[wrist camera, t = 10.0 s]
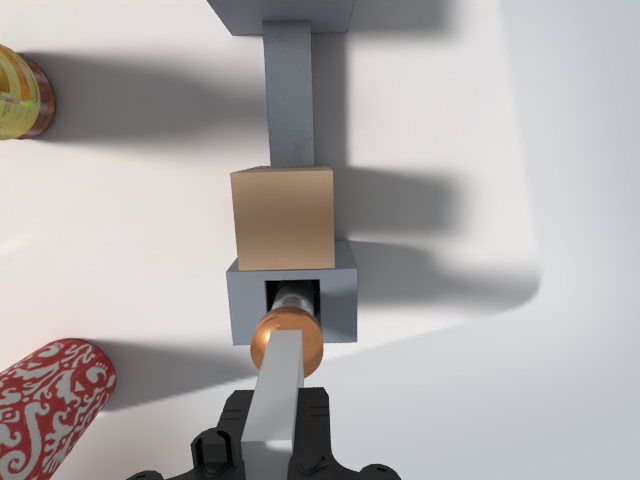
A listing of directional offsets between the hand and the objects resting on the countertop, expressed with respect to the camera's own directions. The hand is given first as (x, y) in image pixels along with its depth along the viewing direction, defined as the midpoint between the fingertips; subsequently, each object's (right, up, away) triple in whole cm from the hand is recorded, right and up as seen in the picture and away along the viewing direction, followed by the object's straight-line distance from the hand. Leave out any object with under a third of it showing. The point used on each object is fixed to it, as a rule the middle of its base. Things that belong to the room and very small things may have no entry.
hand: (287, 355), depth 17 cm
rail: (0, +13, +9) cm, 16 cm away
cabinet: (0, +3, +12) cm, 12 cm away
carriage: (0, +9, +9) cm, 13 cm away
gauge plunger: (0, +2, +7) cm, 8 cm away
